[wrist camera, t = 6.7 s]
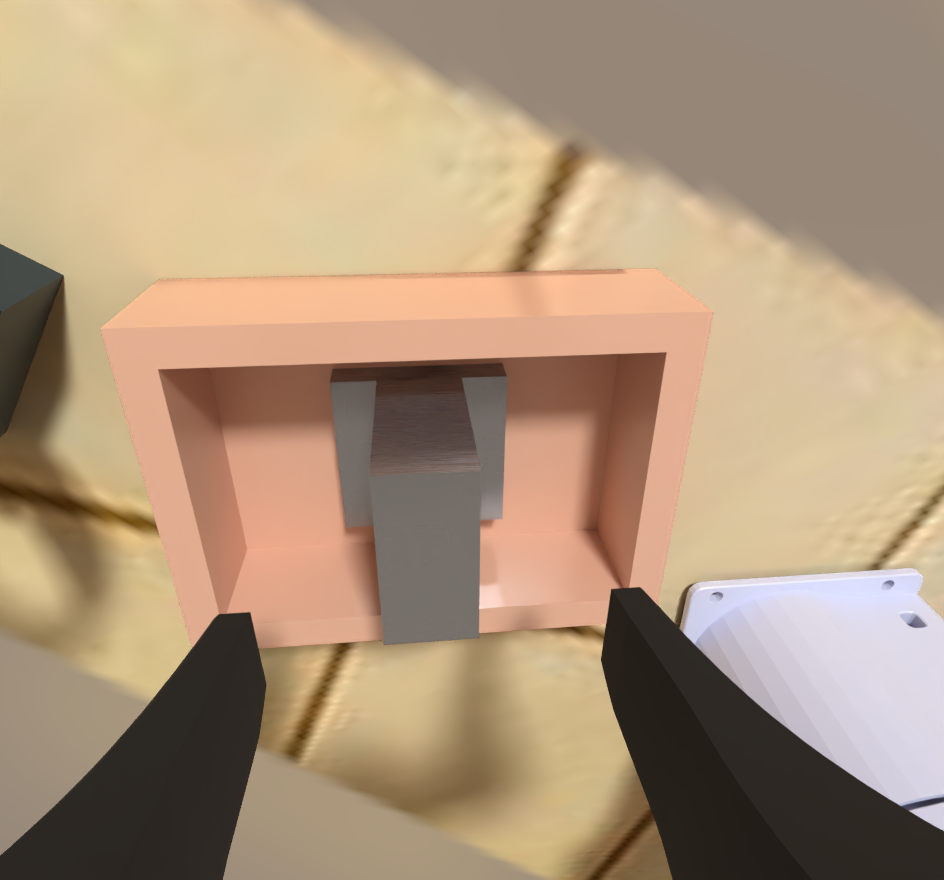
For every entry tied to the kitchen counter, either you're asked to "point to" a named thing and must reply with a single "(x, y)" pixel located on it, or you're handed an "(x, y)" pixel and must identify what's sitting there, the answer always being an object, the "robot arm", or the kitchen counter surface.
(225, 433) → the salmon pink open box
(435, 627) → the grey metal t-piece
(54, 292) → the watch
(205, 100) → the kitchen counter surface
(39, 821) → the robot arm
